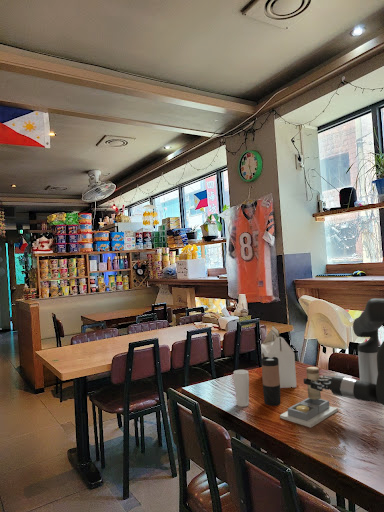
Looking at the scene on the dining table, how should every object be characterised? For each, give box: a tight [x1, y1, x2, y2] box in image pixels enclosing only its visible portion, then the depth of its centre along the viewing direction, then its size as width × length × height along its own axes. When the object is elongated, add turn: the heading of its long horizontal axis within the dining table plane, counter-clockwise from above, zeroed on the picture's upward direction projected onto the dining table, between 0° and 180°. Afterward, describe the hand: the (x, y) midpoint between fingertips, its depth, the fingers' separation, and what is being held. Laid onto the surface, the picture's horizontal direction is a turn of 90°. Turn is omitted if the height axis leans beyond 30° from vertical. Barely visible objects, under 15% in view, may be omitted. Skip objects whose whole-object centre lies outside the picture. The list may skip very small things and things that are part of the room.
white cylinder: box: [233, 369, 250, 408], centre depth 174 cm, size 7×7×15 cm
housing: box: [279, 397, 339, 428], centre depth 160 cm, size 21×14×4 cm, turn 132°
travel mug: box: [261, 357, 282, 407], centre depth 174 cm, size 8×8×20 cm
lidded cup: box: [305, 366, 322, 399], centre depth 163 cm, size 5×5×12 cm
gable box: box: [260, 325, 297, 389], centre depth 204 cm, size 22×13×28 cm, turn 179°
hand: (307, 379), depth 165 cm, fingers closed on lidded cup, 5 cm apart
